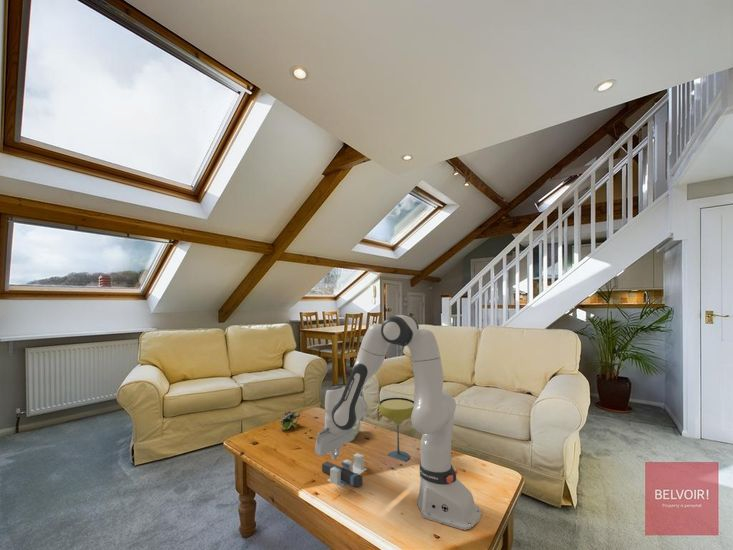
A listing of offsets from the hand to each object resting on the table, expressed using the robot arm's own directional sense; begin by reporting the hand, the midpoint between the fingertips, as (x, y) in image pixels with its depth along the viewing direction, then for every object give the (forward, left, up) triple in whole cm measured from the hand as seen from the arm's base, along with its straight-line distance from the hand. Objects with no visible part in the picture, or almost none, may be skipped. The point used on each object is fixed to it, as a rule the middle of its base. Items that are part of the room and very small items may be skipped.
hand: (334, 458), depth 140 cm
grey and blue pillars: (-4, -4, -8) cm, 10 cm away
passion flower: (+58, -23, -9) cm, 63 cm away
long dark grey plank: (-4, 0, -7) cm, 8 cm away
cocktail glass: (-11, -32, -9) cm, 35 cm away
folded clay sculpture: (+22, -35, -9) cm, 43 cm away
